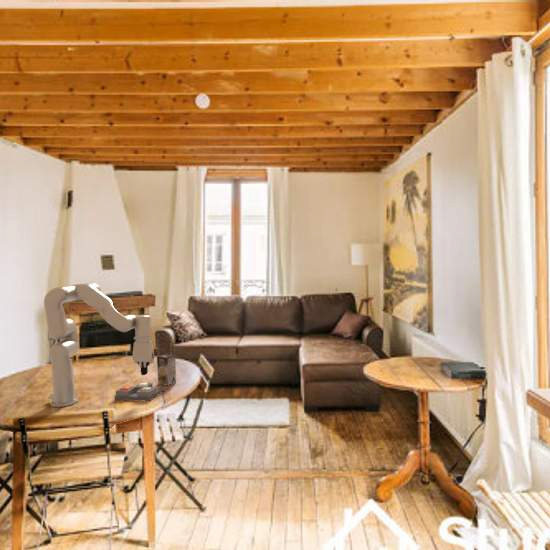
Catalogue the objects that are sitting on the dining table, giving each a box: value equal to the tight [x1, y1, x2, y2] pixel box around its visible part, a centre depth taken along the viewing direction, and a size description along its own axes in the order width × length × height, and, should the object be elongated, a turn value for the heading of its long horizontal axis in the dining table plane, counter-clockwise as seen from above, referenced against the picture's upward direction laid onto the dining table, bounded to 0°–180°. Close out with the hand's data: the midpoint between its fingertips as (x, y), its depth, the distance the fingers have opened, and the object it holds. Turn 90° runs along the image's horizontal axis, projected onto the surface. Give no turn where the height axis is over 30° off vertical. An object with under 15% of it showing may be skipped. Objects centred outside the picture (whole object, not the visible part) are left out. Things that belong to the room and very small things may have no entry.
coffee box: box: [156, 353, 177, 386], centre depth 228 cm, size 9×6×16 cm
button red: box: [120, 385, 131, 391], centre depth 207 cm, size 5×5×2 cm
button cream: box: [137, 382, 149, 387], centre depth 213 cm, size 5×5×2 cm
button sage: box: [142, 387, 151, 391], centre depth 205 cm, size 5×5×2 cm
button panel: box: [114, 382, 165, 402], centre depth 210 cm, size 20×15×4 cm
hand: (144, 374), depth 204 cm, fingers closed
